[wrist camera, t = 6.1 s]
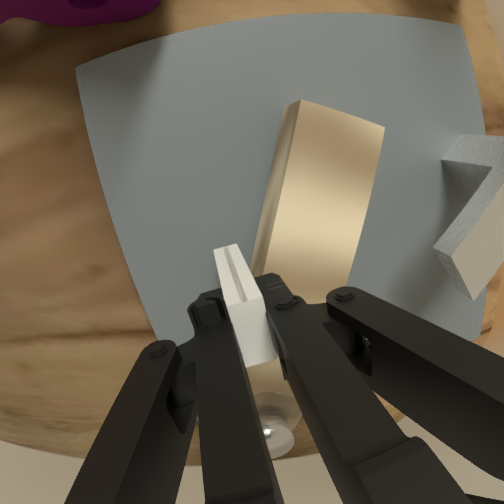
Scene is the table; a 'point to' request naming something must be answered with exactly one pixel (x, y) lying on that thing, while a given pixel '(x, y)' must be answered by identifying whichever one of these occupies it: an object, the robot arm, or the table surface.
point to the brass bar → (312, 217)
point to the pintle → (276, 431)
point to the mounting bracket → (76, 11)
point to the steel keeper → (475, 213)
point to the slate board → (264, 142)
